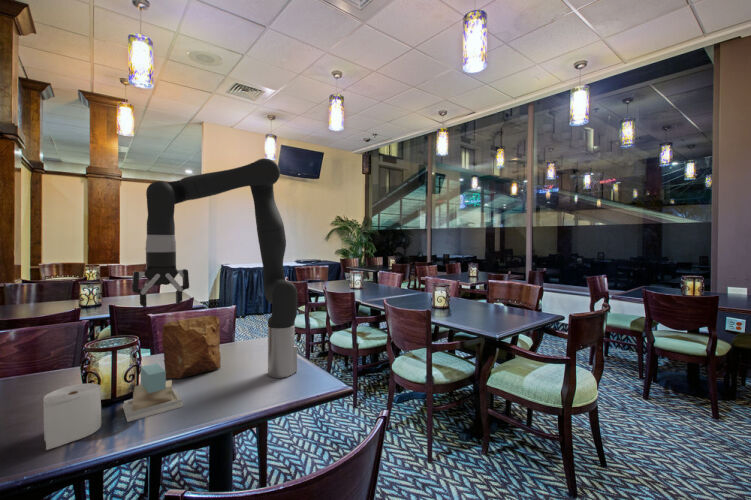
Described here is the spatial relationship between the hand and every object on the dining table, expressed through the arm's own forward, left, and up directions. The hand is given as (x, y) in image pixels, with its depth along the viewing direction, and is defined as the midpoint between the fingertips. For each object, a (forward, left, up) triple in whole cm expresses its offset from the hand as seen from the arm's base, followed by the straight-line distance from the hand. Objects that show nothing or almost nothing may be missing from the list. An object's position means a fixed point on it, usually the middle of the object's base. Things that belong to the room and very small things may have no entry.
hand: (161, 305), depth 103 cm
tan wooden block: (+3, +4, -27) cm, 28 cm away
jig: (+3, +4, -28) cm, 29 cm away
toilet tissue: (+20, +7, -28) cm, 35 cm away
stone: (-12, -16, -28) cm, 35 cm away
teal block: (+3, +4, -22) cm, 23 cm away
